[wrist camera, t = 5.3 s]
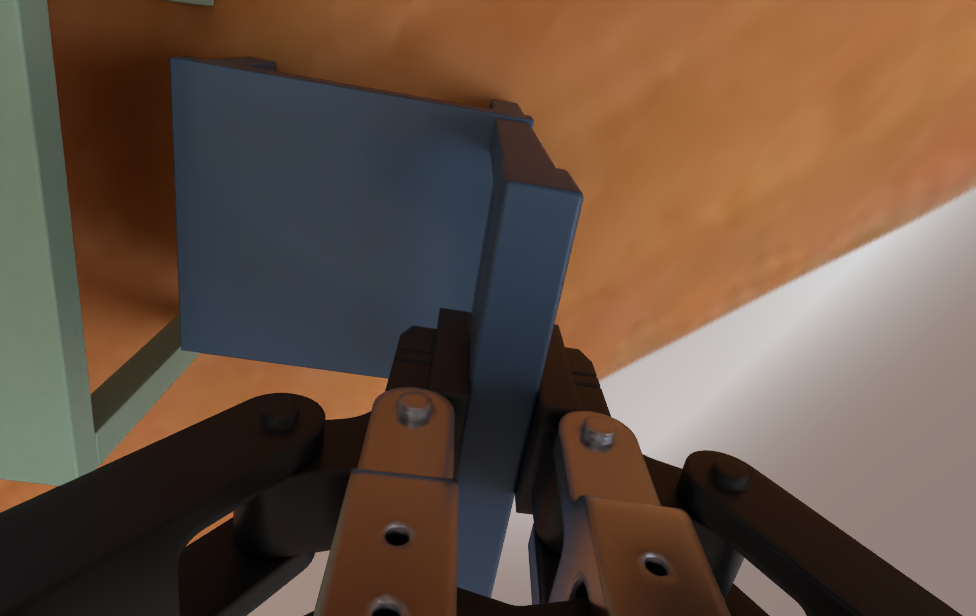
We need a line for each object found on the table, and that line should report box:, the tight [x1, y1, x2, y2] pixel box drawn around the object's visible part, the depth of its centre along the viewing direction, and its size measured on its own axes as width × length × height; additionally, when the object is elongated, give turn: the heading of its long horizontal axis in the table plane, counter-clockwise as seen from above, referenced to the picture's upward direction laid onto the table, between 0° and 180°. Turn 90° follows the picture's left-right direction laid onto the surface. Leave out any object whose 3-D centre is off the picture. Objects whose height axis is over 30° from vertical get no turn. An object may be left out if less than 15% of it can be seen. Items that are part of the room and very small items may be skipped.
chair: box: [170, 56, 583, 598], centre depth 17 cm, size 10×9×15 cm
